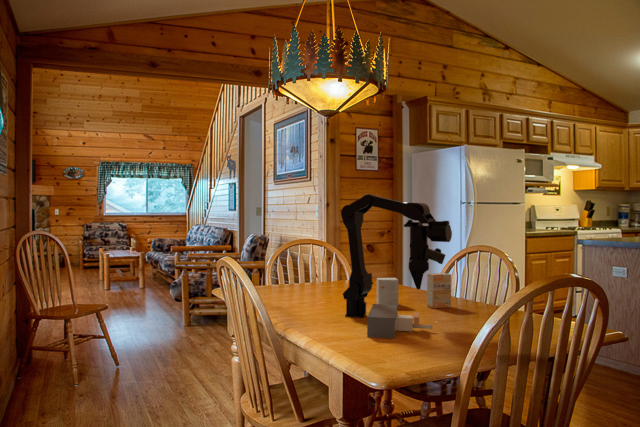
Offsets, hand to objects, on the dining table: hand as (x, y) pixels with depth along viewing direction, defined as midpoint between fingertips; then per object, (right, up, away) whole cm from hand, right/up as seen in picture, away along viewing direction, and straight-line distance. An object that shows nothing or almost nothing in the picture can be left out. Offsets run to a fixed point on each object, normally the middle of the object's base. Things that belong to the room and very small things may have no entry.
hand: (418, 288), depth 158 cm
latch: (-2, -9, -9) cm, 13 cm away
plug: (-3, -12, -9) cm, 15 cm away
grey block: (-12, -12, -7) cm, 19 cm away
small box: (-6, -12, +33) cm, 35 cm away
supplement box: (+14, -12, +29) cm, 34 cm away
